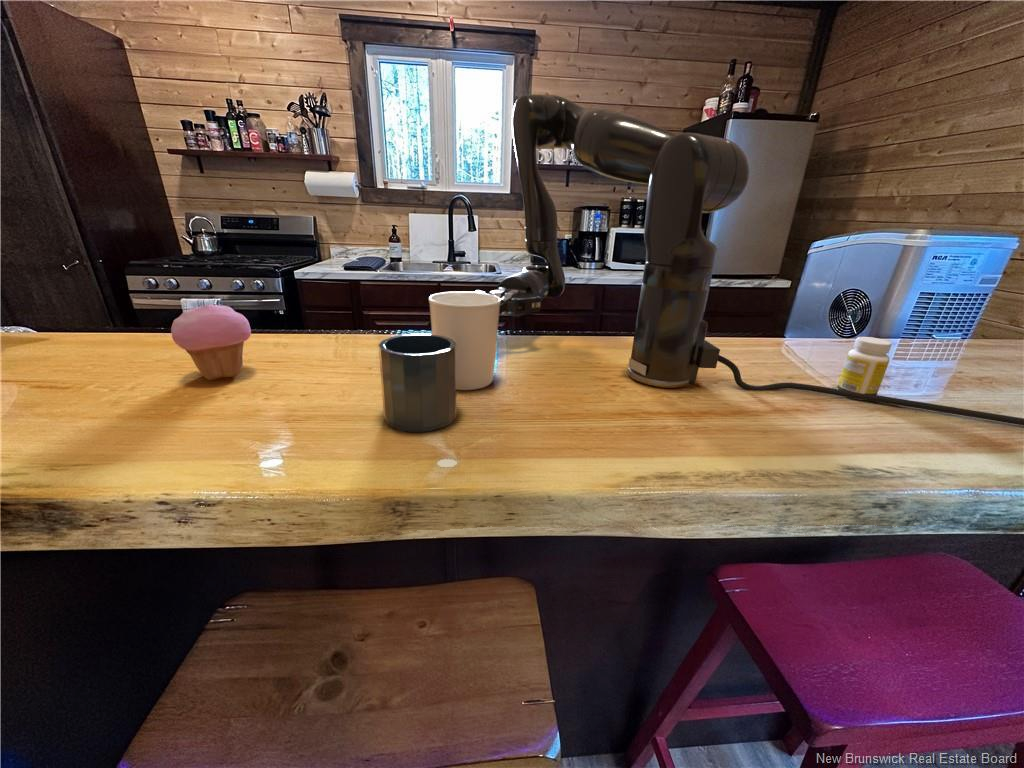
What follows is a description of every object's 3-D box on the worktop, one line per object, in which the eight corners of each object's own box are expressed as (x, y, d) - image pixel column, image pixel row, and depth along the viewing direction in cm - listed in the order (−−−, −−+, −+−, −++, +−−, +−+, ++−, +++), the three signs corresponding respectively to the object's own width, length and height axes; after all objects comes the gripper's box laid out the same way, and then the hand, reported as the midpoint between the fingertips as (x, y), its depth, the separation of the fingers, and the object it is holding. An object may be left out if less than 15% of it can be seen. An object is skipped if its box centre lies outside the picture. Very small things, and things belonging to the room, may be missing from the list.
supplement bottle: (870, 392, 66) (890, 338, 63) (879, 403, 62) (901, 347, 59) (832, 386, 68) (850, 334, 64) (839, 397, 64) (858, 341, 60)
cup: (458, 402, 56) (458, 334, 53) (452, 433, 48) (452, 356, 45) (393, 400, 56) (388, 332, 53) (376, 431, 48) (370, 354, 45)
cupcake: (255, 362, 67) (243, 297, 63) (261, 380, 60) (248, 309, 56) (184, 371, 62) (166, 301, 58) (182, 392, 56) (162, 315, 52)
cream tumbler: (502, 370, 68) (504, 293, 63) (493, 395, 59) (495, 307, 54) (440, 366, 69) (438, 289, 64) (422, 389, 60) (419, 302, 55)
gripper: (489, 270, 85) (451, 282, 70) (555, 276, 82) (530, 291, 66) (488, 308, 88) (452, 328, 73) (552, 315, 85) (527, 338, 69)
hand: (489, 310), depth 70 cm, fingers closed
